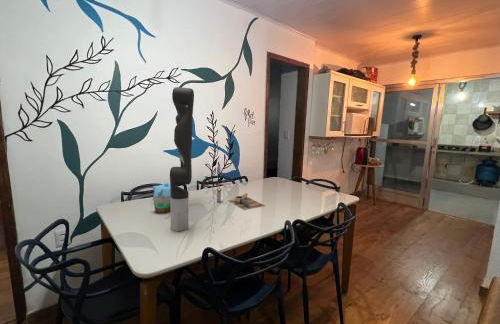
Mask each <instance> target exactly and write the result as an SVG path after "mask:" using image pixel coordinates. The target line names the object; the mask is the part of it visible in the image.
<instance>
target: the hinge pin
mask: <svg viewBox="0 0 500 324" xmlns="http://www.w3.org/2000/svg"><path fill="white" fill-rule="evenodd" d="M215 189H216V203H218V204H220V203H221V202H222V201H221V196H222V191H223V189H222V188H219V187H218V188H215Z"/></svg>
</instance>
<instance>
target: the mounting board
mask: <svg viewBox="0 0 500 324" xmlns="http://www.w3.org/2000/svg"><path fill="white" fill-rule="evenodd" d="M246 201H248V202H250V205H249V208H247V207H245V206H243V205H241V204H236V203H235V198H234V199H229V200H227V202H230V203H231V204H233V205H234V206H236V207H238V208H240V209H241V210H242V211H247V210H252V209H258V208H262V207H263V208H264V207H266V205H264V204H262V203H261V202H258V201H257V200H254V199H253V198H250V197H248V196H247V199H246Z"/></svg>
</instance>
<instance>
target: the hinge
mask: <svg viewBox="0 0 500 324" xmlns="http://www.w3.org/2000/svg"><path fill="white" fill-rule="evenodd" d="M247 197H248V193H247V192H246V193H243V194H242V195H235V196H234V199H235V203H236V204H241V205H243V206H245V207H247V208H249V205H250V202H248V201H246V199H247Z"/></svg>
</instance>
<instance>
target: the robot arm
mask: <svg viewBox="0 0 500 324" xmlns="http://www.w3.org/2000/svg"><path fill="white" fill-rule="evenodd" d="M171 97H172V98H171V99H172V103H173V105H174V107H175V109H176V112H177V115H176V116H175V123H176V125H175V128H174V129H173V130H174V132H173V133H174V134H173V142H174V145H175V146H176V148H177V152H178V153H179V162H180V166H172V167H170V171H169V182H170V183H169V184H170V194H171V196H170V212H169V214H170V230H171V231H175V232H182V231H185V230H189V215H190V214H189V203H190V202H189V195H190V193H189V191H188V190H187V189H184V188H182V187H180V186H179V185H190V184H191V182H192V179H193V175H192V172H193V169H192V168H193V167H192V149H193V148H192V146H193V117H194V116H193V114H194V102H195V92H194V89H193V88H190V87H178V86H176V87H173V89H172V95H171Z"/></svg>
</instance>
